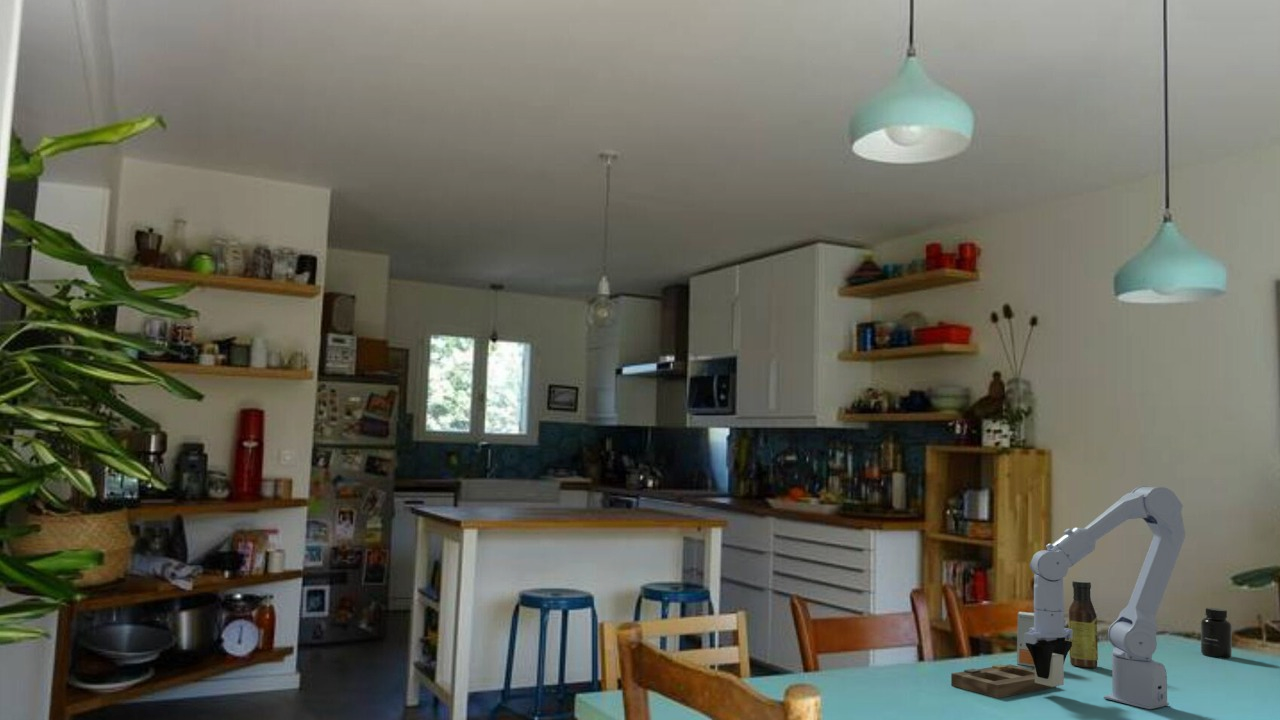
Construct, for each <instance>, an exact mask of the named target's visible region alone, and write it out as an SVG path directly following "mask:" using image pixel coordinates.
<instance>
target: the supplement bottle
mask: <svg viewBox="0 0 1280 720" xmlns="http://www.w3.org/2000/svg"><path fill="white" fill-rule="evenodd" d="M1204 615H1205V616H1206V617H1203V618H1202V619H1201V621H1200V652H1201V654H1202V655H1204V656H1207V657H1211V658H1216V659H1230V658H1231V657H1232V651H1233V650H1232V648H1233V647H1232V642H1233V641H1232V629H1233V628H1232V624H1231V622H1230V621H1228V620H1227V619H1228V611H1227V610H1226V609H1223V608H1217V607H1206V608H1205V613H1204Z"/></svg>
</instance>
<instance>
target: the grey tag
mask: <svg viewBox="0 0 1280 720" xmlns="http://www.w3.org/2000/svg"><path fill="white" fill-rule="evenodd" d="M977 669H978V668H977ZM977 669H976V668H969V669H964V670H963V672H966V673H970V674H974V673H980V672H981V670H977Z"/></svg>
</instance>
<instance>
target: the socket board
mask: <svg viewBox="0 0 1280 720" xmlns="http://www.w3.org/2000/svg"><path fill="white" fill-rule="evenodd" d="M1005 665H1006V666H1008V668H1005V669H996V668H992V666H991V667H985V668H977V670H981V672H980V673H974V674H970V673H966V672H964V671H959V672H952V673H951V675H950V676H951V677H950V679H951V680H950V684H951V687H956V688H958V689H959V688H960V689H962V690H963V689H964V690H966V691H970V692H973V693H974V692H975V693H977V694H981V695H986V696H988V697H992V698H996V699H1000V698H1005V697H1011V696H1016V695H1021V694H1026V693H1031V692H1036V691H1041V690H1042V689H1043V690H1047V689H1052V688H1056V687H1057V686H1055V687H1051V686H1047V685H1043V684H1038V683H1035V669H1032V668H1028V667H1023V666H1021V665H1020V666H1019V665H1014V664H1012V663H1011V664H1005Z"/></svg>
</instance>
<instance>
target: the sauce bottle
mask: <svg viewBox="0 0 1280 720" xmlns="http://www.w3.org/2000/svg"><path fill="white" fill-rule="evenodd" d="M1091 588H1092V584H1091V582H1090V581H1085V580H1072V589H1073V597H1072V598H1073V601H1072V603H1071V604H1070V605H1069V608H1068V629H1073V638H1072V639H1068V641H1071V642H1072V647H1071V648H1070V650H1069V652H1068V653H1069V654H1068V655H1069V663H1070V664H1071V665H1072V666H1075V667H1078V668H1088V669H1089V668H1090V669H1091V668H1096V667H1098V660H1099V654H1098V653H1099V651H1098V648H1099V647H1098V645H1099V644H1098V641H1099V640H1098V618H1097V617H1098V616H1097V613H1096V610H1095V608H1094V605H1093V601H1092V598H1091Z"/></svg>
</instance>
